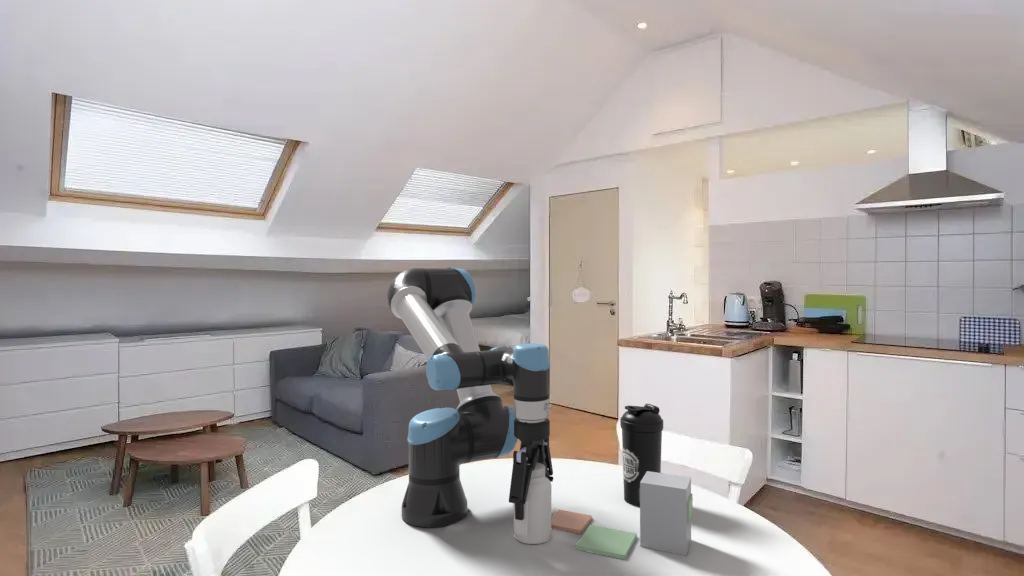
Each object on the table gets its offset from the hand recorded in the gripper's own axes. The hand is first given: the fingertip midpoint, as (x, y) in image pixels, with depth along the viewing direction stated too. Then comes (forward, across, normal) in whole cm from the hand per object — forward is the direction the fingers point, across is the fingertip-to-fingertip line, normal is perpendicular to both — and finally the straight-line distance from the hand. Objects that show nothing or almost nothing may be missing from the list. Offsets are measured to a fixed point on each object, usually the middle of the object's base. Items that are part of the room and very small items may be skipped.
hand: (532, 522), depth 116 cm
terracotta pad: (+3, +9, -5) cm, 11 cm away
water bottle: (+3, +28, -17) cm, 33 cm away
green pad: (+3, +4, -15) cm, 16 cm away
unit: (+3, +8, -26) cm, 28 cm away
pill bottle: (+3, 0, 0) cm, 3 cm away
